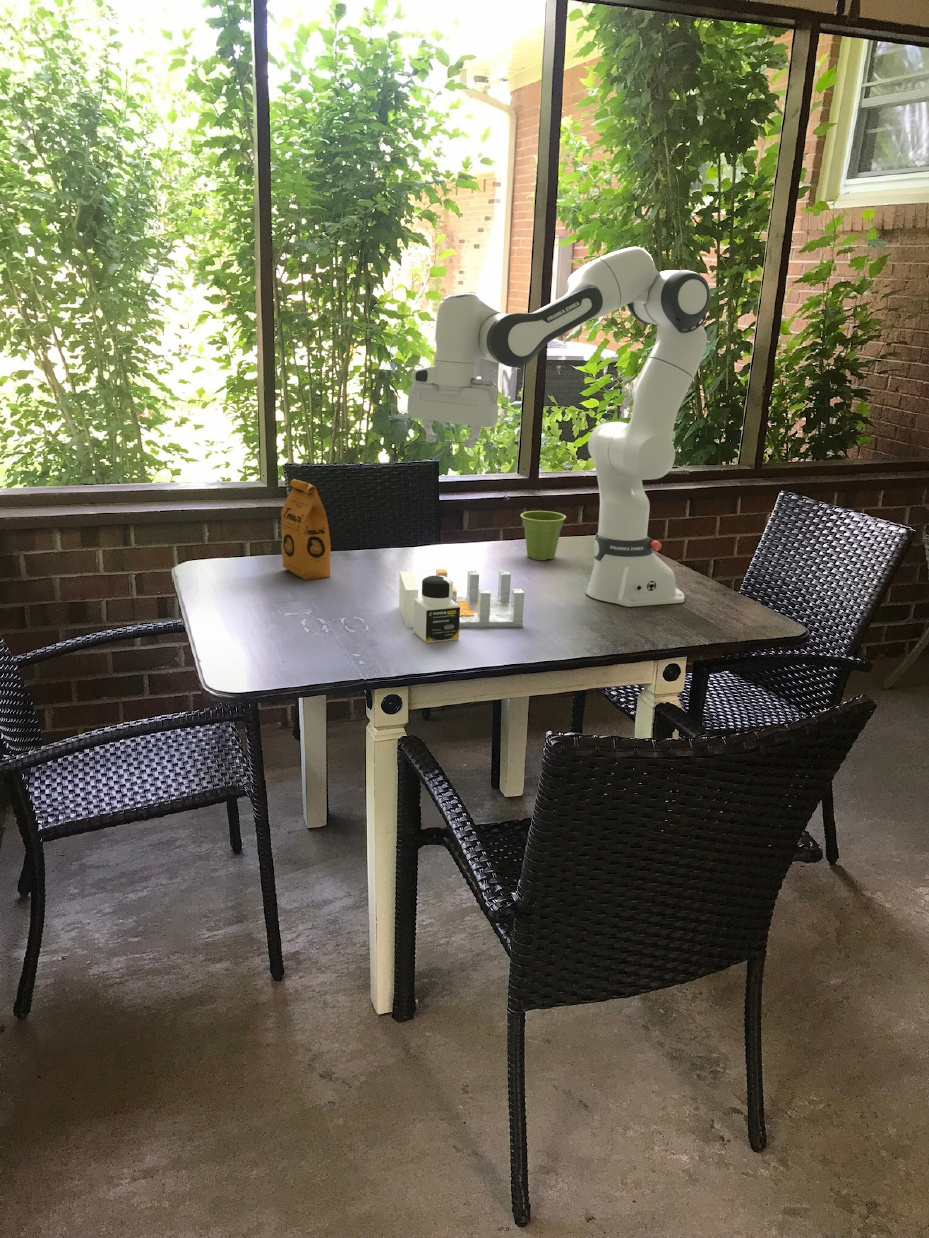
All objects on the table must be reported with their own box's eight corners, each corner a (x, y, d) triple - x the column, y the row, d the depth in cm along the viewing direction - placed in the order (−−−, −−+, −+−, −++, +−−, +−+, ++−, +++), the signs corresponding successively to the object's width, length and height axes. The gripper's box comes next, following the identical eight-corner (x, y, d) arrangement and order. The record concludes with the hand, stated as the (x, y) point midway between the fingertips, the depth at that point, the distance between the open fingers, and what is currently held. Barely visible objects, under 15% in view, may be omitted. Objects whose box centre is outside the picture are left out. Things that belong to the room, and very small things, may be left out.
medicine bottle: (425, 643, 187) (427, 584, 183) (412, 632, 193) (414, 574, 190) (459, 640, 190) (461, 581, 186) (445, 628, 196) (447, 571, 192)
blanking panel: (410, 606, 210) (411, 571, 207) (417, 627, 196) (418, 589, 194) (399, 607, 209) (399, 571, 207) (405, 627, 196) (405, 590, 194)
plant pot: (514, 551, 260) (517, 510, 256) (558, 552, 261) (561, 511, 258) (522, 562, 249) (524, 520, 245) (567, 563, 250) (570, 520, 247)
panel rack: (506, 601, 216) (507, 568, 213) (522, 627, 199) (524, 591, 196) (435, 601, 213) (436, 568, 211) (445, 628, 196) (447, 592, 194)
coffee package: (297, 582, 224) (295, 488, 217) (277, 569, 234) (275, 479, 227) (336, 577, 229) (336, 485, 222) (315, 565, 239) (314, 476, 232)
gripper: (506, 381, 193) (500, 450, 197) (422, 371, 203) (418, 438, 207) (490, 381, 188) (485, 452, 192) (405, 372, 198) (401, 439, 202)
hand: (450, 444), depth 200 cm, fingers open, 8 cm apart
